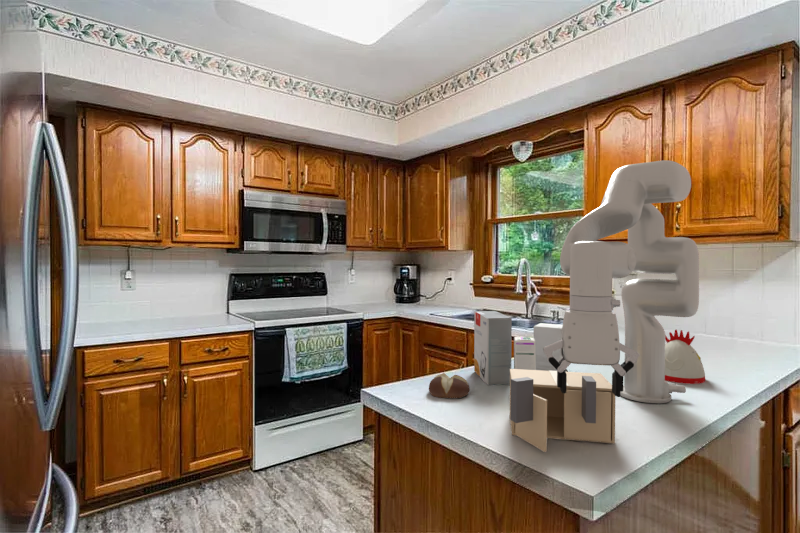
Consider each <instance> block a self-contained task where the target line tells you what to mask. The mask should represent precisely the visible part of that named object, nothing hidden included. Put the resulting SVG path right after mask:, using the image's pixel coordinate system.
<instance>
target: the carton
mask: <svg viewBox="0 0 800 533" xmlns="http://www.w3.org/2000/svg"><path fill="white" fill-rule="evenodd" d="M565 372H566V374H567V383H566V390H582V376H592V377H593V379H594V380H595V381H596V391H599V392H611V442H605V441H593V440H581V439H568V438H564V393H562V392H561V390H560V388H558V387H557V371H551V370H549V371H543V370H524V369H514V368H511V369H510V384H509V416H510V415H511V379H516V378H524V377H529V378H531V379H533V394H534V395H537V396H539V397H541V398H544V399H546V400H547V439H556V440H566V441H578V442H592V443H603V444H616V396H615V395H614V394H613V393H612V383H611V382H609V380H608V379H607V378H606V377H605V376H604V375H603V374H602V373H601V372H600V373H597V372H581V371H579V372H578V371H565ZM509 422H510V431H511V435H512V436H515V437H516V436H517V435H515V422H513V421H512V420H510V419H509ZM517 437H518V436H517Z"/></svg>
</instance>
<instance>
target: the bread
mask: <svg viewBox="0 0 800 533" xmlns="http://www.w3.org/2000/svg"><path fill="white" fill-rule="evenodd" d="M470 390H471V389H470V385H469V383H468V381H467V380H466V379H465V378H464V377H462V376H461V375H458V374H453V375H452V376H451V377H449V375H447V374H446V372H442V373H440V374H437V375H436V376H435V377H433V379H431V380H430V382H429V385H428V392H429V393H430V395H431V396H432V397H434V398H438V399H462V398H464V397H467V395H469V393H470Z"/></svg>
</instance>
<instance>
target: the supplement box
mask: <svg viewBox="0 0 800 533" xmlns="http://www.w3.org/2000/svg"><path fill="white" fill-rule="evenodd" d="M562 326H563V324H560V323H559V324H557V323H544V322H543V323H542V322H540V323H538V324H534V326H533V338H534V340H535V354H536V370H543V371H549V370H551V371H557V370H556V369H555V368H554V367H553V366H552V365H551V364H550V362H549V361H548V359H547V357H546V355H545V353H544V351H543V348H544V347H546V346H548V345H550V344H552V343H555V342H557V341H559V340H561V337H562ZM552 355H553V357H554V358H555V359H556V360H557V361H558V362H559V361H560V360H561V359H562V355H561V348H560V349H558V350H555V351H553V352H552ZM566 370H567V368H566V369H565V371H566Z"/></svg>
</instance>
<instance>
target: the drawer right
mask: <svg viewBox="0 0 800 533" xmlns="http://www.w3.org/2000/svg"><path fill="white" fill-rule="evenodd" d="M564 438H568V439H581V440H593V441H605V442H611V392H599V391H596V381H595V380H594V379H593V377H592V376H582V390H566V393H564Z"/></svg>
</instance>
